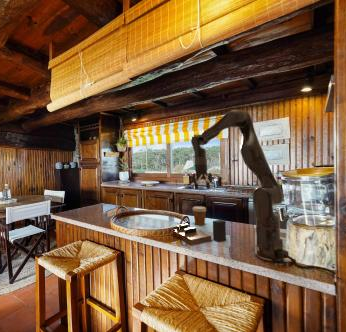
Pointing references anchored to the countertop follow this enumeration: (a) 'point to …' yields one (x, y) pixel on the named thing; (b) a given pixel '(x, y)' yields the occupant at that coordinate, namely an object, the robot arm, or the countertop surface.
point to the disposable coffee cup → (199, 215)
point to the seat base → (191, 235)
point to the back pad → (219, 230)
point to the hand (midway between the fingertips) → (202, 189)
